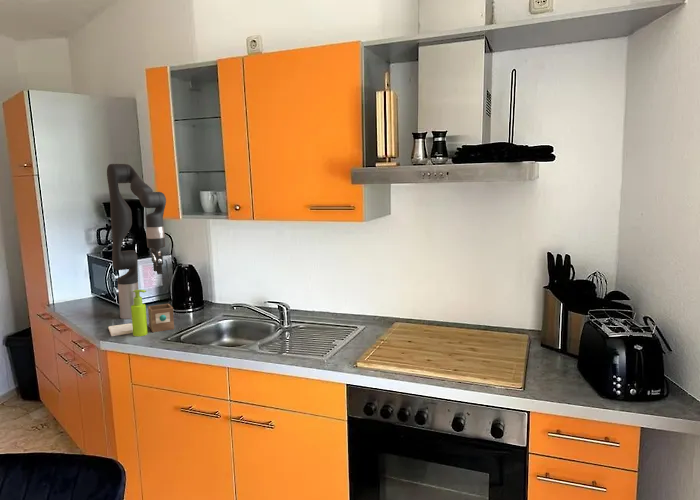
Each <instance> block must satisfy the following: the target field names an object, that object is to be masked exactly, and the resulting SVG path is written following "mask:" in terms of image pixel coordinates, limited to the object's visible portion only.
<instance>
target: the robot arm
mask: <svg viewBox="0 0 700 500" xmlns="http://www.w3.org/2000/svg"><path fill="white" fill-rule="evenodd" d="M106 179H107V185H108V192H109V203H110V224H111V236H112V245H111V246H112V248H111V249H112V254H111V255H112V256H111V257H112V258H111V259H112V266H113V269H114V270H115V271H124V270H128V271H127V272H126V273H125V274H123V275H121V276H119V277H118V278H117V289H118V290H117V291H118V302H119V303H118V304H119V316H120V319H123V320H124V319H125V320H132V313H131V306H132V305H134V297H136V295H135V292H133V291H134V290H140V289H139V273H138V272H139V270H138V269H139V268H138V262H139V261H138V254H137V252H136V251H135V250H133V249H132V250H131V249H130V250H122V244H123V242H124V240H125V238H126V236H127V235H128V233H129V232H130V230H131V228H132V225H133V216H132V215H133V213H132V209H131V207H130V206H129V204H128V203H127V202H126V201H125V199H124V197H123V196H122V194H121V192H120V189H119V184H130V186H129V187H130V192H131V193H133V195H134V196H135V197H137V198H138V199H139V202H140V205H141V206H142V207H143V208H146V209H154V211H153V212H151V213H148V214H146V217H145V223H146V225H145V226H146V231H145V232H146V246H147V248H148V249H150V251H151V252H150V253H151V262H152V265H153V266H152V267H153V272H156V274H157V275H162V274H163V265H164V259H163V258H164V257H163V251H162V250H161V249H163V248H166V238H165V237H166V236H165V228H164V227H165V226H164V214H165V208H166V203H167V198H166V195H165V193H163V192H161V191H153V189H152V187H150V185H148V184H147V183H145V182H144V181H143V179H142V178H141V177H140V176H139V174H138V173H137V172H136V170H135V169H134V168H133V167H132V165H131V164H128V163H110V164H108V165H107V167H106Z"/></svg>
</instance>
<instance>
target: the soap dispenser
mask: <svg viewBox="0 0 700 500" xmlns="http://www.w3.org/2000/svg"><path fill="white" fill-rule="evenodd" d="M133 292H135V295H136V297H134V305H132V306H131V313H132V318H131V323H132V326H133V333H132V336H133V337H143V336H147V335H148V318H147V308H146V307H147V306H146V304H145V303H143V297H142V296H141V295H140V293H144V294H145V293H146V292H147V290H145V289H139V290H134V291H133Z"/></svg>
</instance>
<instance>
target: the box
mask: <svg viewBox="0 0 700 500" xmlns="http://www.w3.org/2000/svg"><path fill="white" fill-rule="evenodd" d="M147 311H148V328H149V329H150V331H151V332H152V333H158V332H159V333H160V332H164V331H165V332H166V331H171V330H174V329H175V322H174V321H175V318H174V307H173V306H172V305H171V304H170V303H164V304H163V303H162V304H156V305H148V306H147Z"/></svg>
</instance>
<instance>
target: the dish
mask: <svg viewBox="0 0 700 500" xmlns="http://www.w3.org/2000/svg"><path fill="white" fill-rule="evenodd" d="M108 330H109V331H108V332H109V334H110V336H111V337H114V336H122V335H129V334H133V326H132V322H130V323H124V324H117V325H116V324H115V325H109V326H108Z"/></svg>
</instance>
